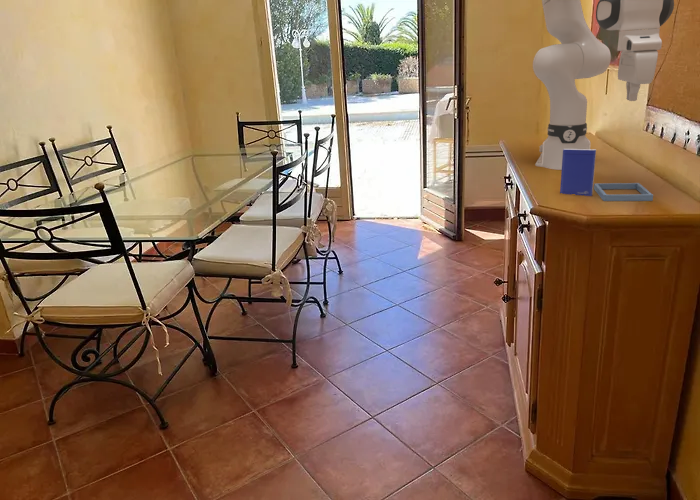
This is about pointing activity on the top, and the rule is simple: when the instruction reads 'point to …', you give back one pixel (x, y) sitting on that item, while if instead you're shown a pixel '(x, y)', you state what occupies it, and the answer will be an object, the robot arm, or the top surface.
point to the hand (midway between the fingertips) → (631, 100)
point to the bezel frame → (643, 196)
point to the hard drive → (578, 171)
